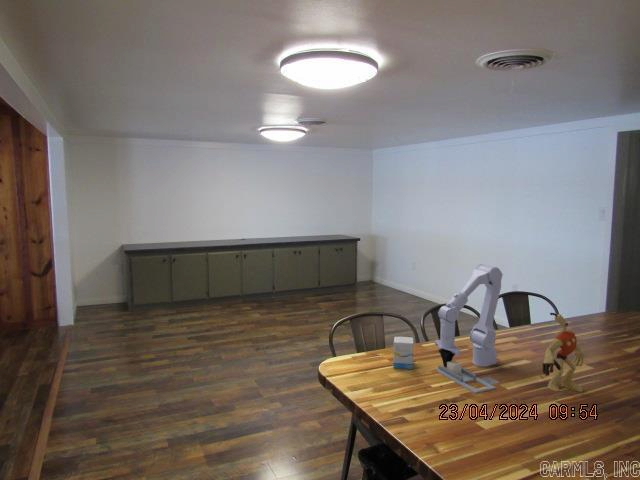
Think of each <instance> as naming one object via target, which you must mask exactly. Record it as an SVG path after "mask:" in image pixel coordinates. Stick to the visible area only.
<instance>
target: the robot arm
mask: <svg viewBox="0 0 640 480" xmlns="http://www.w3.org/2000/svg"><path fill="white" fill-rule="evenodd" d="M503 275H504V274H503V273H502V271H501V269H500V268H499V267H497V266H490V265H487V264H482V263H481V264H478V265H477V266H475V269H473V270H472V276H471V277H470V278H469V279H468V281H467V283H466V284H465V285H464V286H463V288H462V290H461V291H459V292H455V293H454V294H453V295H452V297H451V298H450V299H449V301H448V302H447V303H445V305H443V306H441V307H440V308H439V310H438V311H437V316H438V317H439V322H440V337H439V338H440V339H434V345H435V346H438V348H439V349H438V353H439V354H440V357H441V359H442V363H443V367H445V368H446V367H447V362H450V361H453V358H454V357H455V356H457V357H458V356H461V355H462V350H461V349H459V348H458V347H457V345H455V343H456V342H455V341H456V340H455V339H456V336H455V335H456V321H457V320H458V318H459V315H460V313H461V310H462V309H463V308H464V306H465V305H466V304H467V303H468V302H469V299H468V297H469V296H470V295H471V294H472V293H473V292H474V291H475V290H476V289H477V288H479V286H480V285H484V286H485V287H486V291H485V294H484V299H483V301H482V302H483V303H482V307H481V310H480V311H481V312H480V315H479V319H478V323H475V324H474V325H473V327H472V329H471V332H470V334H469V339H470V341H471V343H472V363H473V364H474V365H475V366H477V367H489V366H492V365H497V357H498V356H497V354H498V353H497V349H496V348H495V344H496V330H495V329H494V328H493V323H494V320H495V319H494V318H495V314H496V310H497V305H498V302H499V297H500V294H501V290H502V278H503Z"/></svg>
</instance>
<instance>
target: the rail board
mask: <svg viewBox="0 0 640 480" xmlns="http://www.w3.org/2000/svg"><path fill="white" fill-rule="evenodd" d="M435 372H438V373H439V374H441V375H442V376H444V377H445V378H447V379H449V380H451V381H453V382H454V383H456V384H458V385H460V386H461V387H463V388H464V389H466V390H468V391H470V392H471V393H473V394H479V393H483V392H487V391H488V392H489V391H491V390H495V389H497V387H496V386H494V385H493V384H489V383H487V382H485V381H483V380H481V379H480V378H479V377H477V374H476V373H473V372H471V371H470V370H468V369H466V368H464V367H462V366H461V374H455V373H454V372H452V371H450V370H448V369H447V367H444V365H441V364H438V367H437V368H436V369H435ZM474 381H475V382H477V383H479V384H481V386H482V385H483V387H478V388H474V387H473V386H471V385H470V384H467V383H469V382H474Z"/></svg>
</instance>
